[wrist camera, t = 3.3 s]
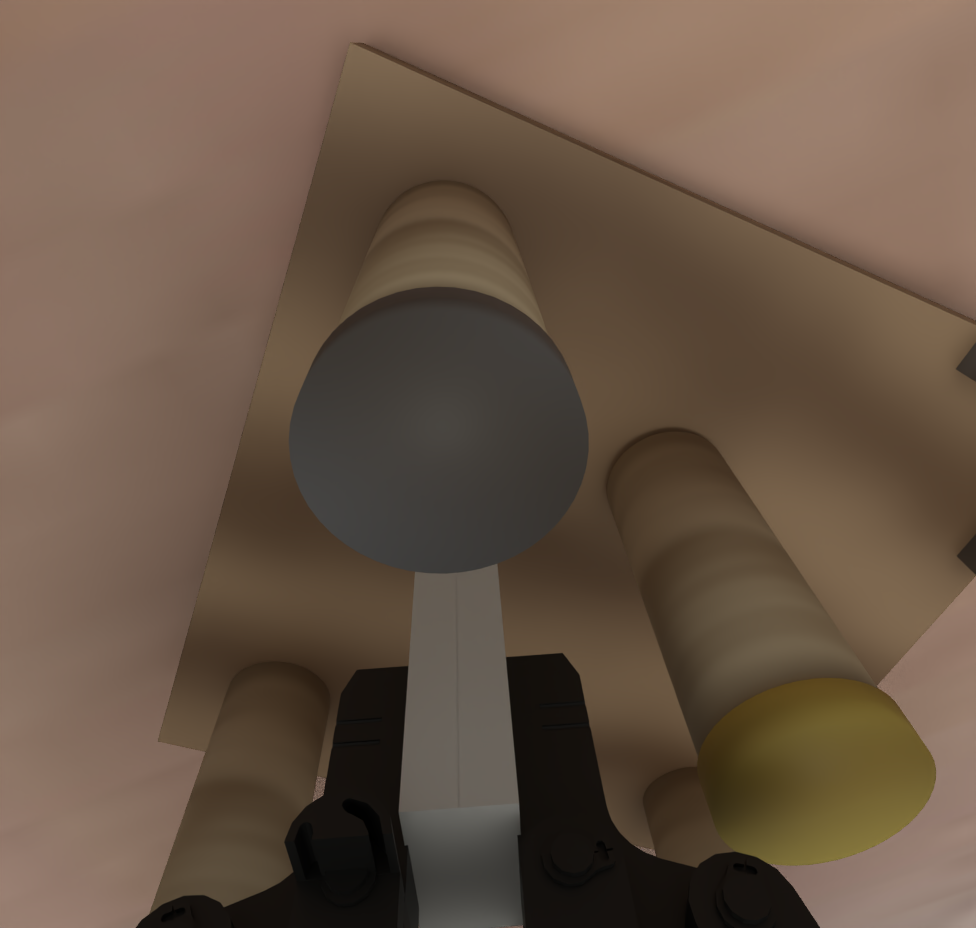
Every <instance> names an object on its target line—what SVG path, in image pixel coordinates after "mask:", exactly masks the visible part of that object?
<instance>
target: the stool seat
mask: <svg viewBox="0 0 976 928" xmlns="http://www.w3.org/2000/svg"><path fill="white" fill-rule="evenodd" d="M676 431H677V432H687V433H692V434H695V435H698V436H700V437H702V438H704V439H706V440H707V441H709V442H710V443H712V444H713V445H714V446H715V447H716V448H717V450H718V451H719V452H720V454H721V455H722V457H723V458H724V460H725V461H726V463H727V464H728V466H729V467H730V469H731V470H732V472H733V473H734V474H735V476H736V477H737V479H738V480H739V482H740V483H741V485H742V486H743V488H744V489H745V491H746V492H747V494H748V495H749V497H750V498H751V500H752V501H753V503H754V504H755V506H756V507H757V509H758V510H759V512H760V513H761V515H762V516H763V518H764V519H765V521H766V522H767V524H768V525H769V527H770V528H771V530H772V531H773V533H774V534H775V536H776V537H777V539H778V540H779V541H780V543H781V544H782V546H783V547H784V549H785V550H786V552H787V553H788V555H789V556H790V558H791V559H792V561H793V562H794V564H795V565H796V567H797V568H798V570H799V571H800V573H801V574H802V576H803V577H804V579H805V580H806V582H807V583H808V585H809V586H810V588H811V589H812V591H813V592H814V594H815V595H816V597H817V598H818V600H819V601H820V603H821V604H822V606H823V607H824V609H825V610H826V611H827V613H828V614H829V616H830V617H831V619H832V620H833V622H834V623H835V625H836V626H837V628H838V629H839V631H840V632H841V634H842V635H843V637H844V638H845V640H846V641H847V643H848V644H849V646H850V647H851V649H852V650H853V652H854V653H855V655H856V656H857V658H858V659H859V661H860V662H861V664H862V665H863V667H864V668H865V670H866V671H867V673H868V674H869V676H870V677H871V679H872V680H873V681H874V683H875V684H876V686H877V685H878V684H879V683H880V681H881V680H882V679H883V678H884V677H885V676H886V675H887V674H888V673H889V672H890V670H891V669H892V668H893V667H894V666H895V665H896V664H897V663H898V662H899V660H900V659H901V658H902V657H903V656H904V655H905V654H906V653H907V652H908V650H909V649H910V648H911V647H912V646H913V645H914V644H915V643H916V642H917V640H918V639H919V638H920V637H921V636H922V635H923V634H924V633H925V632H926V630H927V629H928V628H929V627H930V626H931V625H932V624H933V623H934V622H935V620H936V619H937V618H938V617H939V616H940V615H941V614H942V613H943V612H944V610H945V609H946V608H947V607H948V606H949V605H950V604H951V603H952V602H953V601H954V599H955V598H956V597H957V596H958V595H959V594H960V593H961V592H962V591H963V589H964V588H965V587H966V586H967V585H968V584H969V583H970V582H971V581H972V579H973V578H974V577H975V576H976V321H974V320H972V319H970V318H968V317H966V316H963V315H961V314H959V313H957V312H955V311H952V310H950V309H948V308H946V307H944V306H941V305H939V304H937V303H935V302H933V301H930V300H928V299H926V298H924V297H922V296H919V295H917V294H915V293H913V292H911V291H908V290H906V289H904V288H902V287H900V286H897V285H895V284H893V283H891V282H889V281H886V280H884V279H882V278H880V277H878V276H875V275H873V274H871V273H869V272H866V271H864V270H862V269H860V268H858V267H855V266H853V265H851V264H849V263H847V262H844V261H842V260H840V259H838V258H836V257H833V256H831V255H829V254H827V253H825V252H822V251H820V250H818V249H816V248H814V247H811V246H809V245H807V244H805V243H803V242H800V241H798V240H796V239H794V238H792V237H789V236H787V235H785V234H783V233H781V232H778V231H776V230H774V229H772V228H770V227H767V226H765V225H763V224H761V223H758V222H756V221H754V220H752V219H750V218H747V217H745V216H743V215H741V214H739V213H736V212H734V211H732V210H730V209H728V208H725V207H723V206H721V205H719V204H717V203H714V202H712V201H710V200H708V199H706V198H703V197H701V196H699V195H697V194H695V193H692V192H690V191H688V190H686V189H684V188H681V187H679V186H677V185H675V184H673V183H670V182H668V181H666V180H664V179H662V178H659V177H657V176H655V175H653V174H650V173H648V172H646V171H644V170H642V169H639V168H637V167H635V166H633V165H631V164H628V163H626V162H624V161H622V160H620V159H617V158H615V157H613V156H611V155H609V154H606V153H604V152H602V151H600V150H598V149H595V148H593V147H591V146H589V145H587V144H584V143H582V142H580V141H578V140H576V139H573V138H571V137H569V136H567V135H565V134H562V133H560V132H558V131H556V130H554V129H551V128H549V127H547V126H545V125H543V124H540V123H538V122H536V121H534V120H531V119H529V118H527V117H525V116H523V115H520V114H518V113H516V112H514V111H512V110H509V109H507V108H505V107H503V106H501V105H498V104H496V103H494V102H492V101H490V100H487V99H485V98H483V97H481V96H479V95H476V94H474V93H472V92H470V91H468V90H465V89H463V88H461V87H459V86H457V85H454V84H452V83H450V82H448V81H446V80H443V79H441V78H439V77H437V76H435V75H432V74H430V73H428V72H426V71H423V70H421V69H419V68H417V67H415V66H412V65H410V64H408V63H406V62H404V61H401V60H399V59H397V58H395V57H393V56H390V55H388V54H386V53H384V52H382V51H379V50H377V49H375V48H373V47H371V46H368V45H366V44H364V43H352V42H350V45H349V48H348V52H347V55H346V59H345V63H344V66H343V70H342V74H341V77H340V81H339V85H338V88H337V92H336V95H335V99H334V103H333V106H332V110H331V114H330V117H329V121H328V124H327V128H326V132H325V135H324V139H323V143H322V146H321V150H320V154H319V157H318V161H317V164H316V168H315V172H314V175H313V179H312V183H311V186H310V190H309V193H308V197H307V201H306V204H305V208H304V212H303V215H302V219H301V223H300V226H299V230H298V233H297V237H296V241H295V244H294V248H293V252H292V255H291V259H290V263H289V266H288V270H287V273H286V277H285V281H284V284H283V288H282V292H281V295H280V299H279V302H278V306H277V310H276V313H275V317H274V321H273V324H272V328H271V332H270V335H269V339H268V342H267V346H266V350H265V353H264V357H263V361H262V364H261V368H260V371H259V375H258V379H257V382H256V386H255V390H254V393H253V397H252V401H251V404H250V408H249V411H248V415H247V419H246V422H245V426H244V430H243V433H242V437H241V440H240V444H239V448H238V451H237V455H236V459H235V462H234V466H233V470H232V473H231V477H230V480H229V484H228V488H227V491H226V495H225V499H224V502H223V506H222V510H221V513H220V517H219V520H218V524H217V528H216V531H215V535H214V539H213V542H212V546H211V549H210V553H209V557H208V560H207V564H206V568H205V571H204V575H203V579H202V582H201V586H200V589H199V593H198V597H197V600H196V604H195V608H194V611H193V615H192V618H191V622H190V626H189V629H188V633H187V637H186V640H185V644H184V648H183V651H182V655H181V658H180V662H179V666H178V669H177V673H176V677H175V680H174V684H173V687H172V691H171V695H170V698H169V702H168V706H167V709H166V713H165V717H164V720H163V724H162V727H161V731H160V735H159V738H158V742H163V743H168V744H172V745H177V746H181V747H186V748H191V749H195V750H200V751H204V752H206V753H205V756H204V758H203V761H202V764H201V767H200V770H199V773H198V776H197V779H196V781H195V784H194V787H193V790H192V793H191V796H190V799H189V802H188V804H187V807H186V810H185V813H184V816H183V819H182V822H181V825H180V827H179V830H178V833H177V836H176V839H175V842H174V845H173V847H172V850H171V853H170V856H169V859H168V862H167V865H166V868H165V870H164V873H163V876H162V879H161V882H160V885H159V888H158V891H157V893H156V896H155V899H154V902H153V905H152V908H151V911H150V913H152V912H153V911H154V910H155V909H157V908H158V907H159V906H161V905H162V904H164V903H167V902H169V901H172V900H174V899H177V898H179V897H182V896H187V895H205V896H208V897H210V898H212V899H214V900H217V901H219V902H221V904H222V905H223V907H226V906H228V905H231V904H233V903H235V902H238V901H240V900H243V899H245V898H248V897H250V896H253V895H255V894H258V893H260V892H262V891H265V890H267V889H269V888H271V887H272V886H274V885H276V884H278V883H280V882H281V881H283V880H284V879H285V878H286V877H288V876H289V875H290V874H291V873H293V869H292V866H291V862H290V859H289V856H288V853H287V850H286V847H285V843H284V841H285V838H286V836H287V833H288V831H289V828H290V826H291V824H292V822H293V821H294V820H295V818H296V817H297V816H298V815H299V814H300V813H301V812H302V810H303V809H304V808H305V807H306V806H307V805H309V804H310V803H312V801H313V795H314V790H315V785H316V779H317V776H319V777H324V778H326V777H327V772H328V766H329V760H330V754H331V748H332V747H333V744H332V742H333V736H334V730H335V726H336V719H337V713H338V707H339V701H340V695H341V693H342V691H343V690H344V688H345V687H346V685H347V684H348V682H349V681H350V679H351V678H352V676H353V675H354V673H355V672H356V670H359V669H373V668H386V667H400V666H409V652H410V638H411V623H412V608H413V594H414V579H415V572H422V573H439V574H447V573H459V572H467V571H472V570H477V569H482V568H485V567H488V566H491V565H495V564H497V566H498V577H499V588H500V599H501V610H502V621H503V632H504V643H505V654H506V657H513V656H527V655H541V654H555V653H563V654H564V655H565V656H566V658H567V659H568V660H569V662H570V663H571V664H572V665H573V667H574V668H575V669H576V671H577V672H578V673H579V675H580V679H581V684H582V689H583V694H584V699H585V706H586V708H587V713H588V718H589V725H590V728H591V732H592V737H593V742H594V747H595V752H596V757H597V761H598V766H599V771H600V776H601V781H602V786H603V791H604V795H605V800H606V805H607V808H608V811H609V814H610V817H611V820H612V821H613V823H614V825H615V826H616V828H617V829H618V831H619V832H620V833H621V834H622V835H623V836H624V837H625V838H626V839H627V840H628V841H629V842H630V843H631V844H632V845H636V846H640V847H645V848H649V849H654V850H655V853H656V857H658V858H661V859H665V860H669V861H673V862H677V863H681V864H685V865H689V866H693V867H696V868H697V867H698V865H699V864H700V863H701V862H703V861H705V860H706V859H708V858H710V857H711V856H713V855H714V854H719V853H728V852H736V851H734V850H733V849H731V848H730V847H729V846H728V845H727V844H726V843H725V842H724V841H723V840H722V839H721V837H720V836H719V834H718V832H717V830H716V828H715V825H714V822H713V819H712V816H711V813H710V810H709V807H708V805H707V802H706V799H705V796H704V793H703V790H702V787H701V784H700V781H699V777H698V773H697V761H698V756H697V753H696V750H695V747H694V745H693V742H692V739H691V736H690V733H689V730H688V728H687V725H686V722H685V719H684V716H683V713H682V710H681V708H680V705H679V702H678V699H677V696H676V693H675V690H674V688H673V685H672V682H671V679H670V676H669V673H668V671H667V668H666V665H665V662H664V659H663V656H662V653H661V651H660V648H659V645H658V642H657V639H656V636H655V633H654V631H653V628H652V625H651V622H650V619H649V616H648V614H647V611H646V608H645V605H644V602H643V599H642V596H641V594H640V591H639V588H638V585H637V582H636V579H635V577H634V574H633V571H632V568H631V565H630V562H629V559H628V557H627V554H626V551H625V548H624V545H623V542H622V539H621V537H620V534H619V531H618V528H617V525H616V522H615V520H614V517H613V514H612V511H611V508H610V505H609V502H608V498H607V483H608V479H609V476H610V473H611V470H612V469H613V467H614V465H615V463H616V462H617V460H618V459H619V458H620V457H621V456H622V454H623V453H624V452H625V451H627V450H628V449H629V448H630V447H631V446H633V445H634V444H636V443H637V442H639V441H641V440H643V439H645V438H647V437H650V436H652V435H656V434H659V433H664V432H676Z"/></svg>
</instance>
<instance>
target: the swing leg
mask: <svg viewBox="0 0 976 928" xmlns="http://www.w3.org/2000/svg"><path fill="white" fill-rule="evenodd" d="M607 498H608V502H609V505H610V508H611V511H612V514H613V517H614V520H615V522H616V525H617V528H618V531H619V534H620V537H621V539H622V542H623V545H624V548H625V551H626V554H627V557H628V559H629V562H630V565H631V568H632V571H633V574H634V577H635V579H636V582H637V585H638V588H639V591H640V594H641V596H642V599H643V602H644V605H645V608H646V611H647V614H648V616H649V619H650V622H651V625H652V628H653V631H654V633H655V636H656V639H657V642H658V645H659V648H660V651H661V653H662V656H663V659H664V662H665V665H666V668H667V671H668V673H669V676H670V679H671V682H672V685H673V688H674V690H675V693H676V696H677V699H678V702H679V705H680V708H681V710H682V713H683V716H684V719H685V722H686V725H687V728H688V730H689V733H690V736H691V739H692V742H693V745H694V747H695V750H696V753H697V756H698V761H697V773H698V777H699V781H700V784H701V787H702V790H703V793H704V796H705V799H706V802H707V805H708V807H709V810H710V813H711V816H712V819H713V822H714V825H715V828H716V830H717V832H718V834H719V836H720V837H721V839H722V840H723V841H724V842H725V843H726V844H727V845H728V846H729V847H730V848H731V849H733V850H734V851H736V852H739V853H743V854H747V855H751V856H755V857H758V858H759V859H761V860H763V861H764V862H766V863H769V864H776V865H811V864H818V863H825V862H829V861H834V860H838V859H842V858H845V857H849V856H852V855H854V854H857V853H860V852H863V851H865V850H867V849H869V848H871V847H874V846H876V845H878V844H879V843H881V842H883V841H885V840H887V839H888V838H890V837H891V836H893V835H894V834H896V833H897V832H899V831H900V830H901V829H903V828H904V827H905V826H906V825H908V824H909V823H910V822H911V821H912V820H913V819H914V818H915V817H916V816H917V815H918V814H919V812H920V811H921V810H922V809H923V807H924V806H925V804H926V803H927V801H928V800H929V798H930V796H931V793H932V791H933V789H934V784H935V780H936V768H935V763H934V760H933V757H932V755H931V753H930V752H929V750H928V749H927V747H926V746H925V744H924V743H923V741H922V740H921V738H920V737H919V735H918V734H917V733H916V731H915V730H914V728H913V727H912V725H911V724H910V722H909V721H908V719H907V718H906V716H905V715H904V714H903V712H902V711H901V709H900V708H899V706H898V705H897V704H896V702H895V701H894V700H893V699H892V698H891V697H890V696H888V695H887V694H886V693H884V692H883V691H881V690H880V689H878V687H877V686H876V684H875V683H874V681H873V680H872V679H871V677H870V676H869V674H868V673H867V671H866V670H865V668H864V667H863V665H862V664H861V662H860V661H859V659H858V658H857V656H856V655H855V653H854V652H853V650H852V649H851V647H850V646H849V644H848V643H847V641H846V640H845V638H844V637H843V635H842V634H841V632H840V631H839V629H838V628H837V626H836V625H835V623H834V622H833V620H832V619H831V617H830V616H829V614H828V613H827V611H826V610H825V609H824V607H823V606H822V604H821V603H820V601H819V600H818V598H817V597H816V595H815V594H814V592H813V591H812V589H811V588H810V586H809V585H808V583H807V582H806V580H805V579H804V577H803V576H802V574H801V573H800V571H799V570H798V568H797V567H796V565H795V564H794V562H793V561H792V559H791V558H790V556H789V555H788V553H787V552H786V550H785V549H784V547H783V546H782V544H781V543H780V541H779V540H778V539H777V537H776V536H775V534H774V533H773V531H772V530H771V528H770V527H769V525H768V524H767V522H766V521H765V519H764V518H763V516H762V515H761V513H760V512H759V510H758V509H757V507H756V506H755V504H754V503H753V501H752V500H751V498H750V497H749V495H748V494H747V492H746V491H745V489H744V488H743V486H742V485H741V483H740V482H739V480H738V479H737V477H736V476H735V474H734V473H733V472H732V470H731V469H730V467H729V466H728V464H727V463H726V461H725V460H724V458H723V457H722V455H721V454H720V452H719V451H718V450H717V448H716V447H715V446H714V445H713V444H712V443H710V442H709V441H707V440H706V439H704V438H702V437H700V436H698V435H695V434H692V433H687V432H677V431H676V432H664V433H659V434H656V435H652V436H650V437H647V438H645V439H643V440H641V441H639V442H637V443H636V444H634V445H633V446H631V447H630V448H629V449H628V450H627V451H625V452H624V453H623V454H622V456H621V457H620V458H619V459H618V460H617V462H616V463H615V465H614V467H613V469H612V470H611V473H610V476H609V479H608V483H607Z"/></svg>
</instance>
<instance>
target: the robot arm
mask: <svg viewBox="0 0 976 928" xmlns="http://www.w3.org/2000/svg"><path fill="white" fill-rule="evenodd" d="M332 744H333V747H332V748H331V754H330V760H329V766H328V772H327V777H326V783H325V789H324V795H323V796H322V797H320V798H319V799H317V800H315V801H314V802H312V803H310V804H309V805H307V806H306V807H305V808H304V809H303V810H302V812H301V813H300V814H299V815H298V816H297V817H296V818H295V820H294V821H293V822H292V824H291V826H290V828H289V831H288V833H287V836H286V838H285V841H284V843H285V847H286V850H287V853H288V856H289V859H290V862H291V866H292V869H293V873H291V874H290V875H289V876H288V877H286V878H285V879H284V880H283V881H281V882H280V883H278V884H276V885H274V886H272V887H271V888H269V889H267V890H265V891H262V892H260V893H258V894H255V895H253V896H250V897H248V898H245V899H243V900H240V901H238V902H235V903H233V904H231V905H228V906H226V907H223V905H222V904H221V902H219V901H217V900H214V899H212V898H210V897H208V896H205V895H187V896H182V897H179V898H177V899H174V900H172V901H169V902H167V903H164V904H162V905H161V906H159V907H158V908H157V909H155V910H154V911H153V912H152V913H150V914H149V915H148V916H146V917H145V918H144V919H142V920H141V922H140V923H139V924H138V926H137V927H136V928H418V925H419V927H420V928H493V927H506V926H519V925H523V928H820V927H819V925H818V924H817V922H816V921H815V919H814V918H813V916H812V915H811V913H810V912H809V910H808V909H807V907H806V906H805V904H804V903H803V901H802V900H801V898H800V897H799V895H798V894H797V892H796V891H795V889H794V888H793V886H792V885H791V884H790V883H789V882H788V881H787V880H786V879H785V878H784V876H783V875H782V874H781V873H780V872H779V871H778V870H777V869H776V868H774V867H772V866H771V865H769V864H768V863H766V862H764V861H763V860H761V859H759V858H758V857H755V856H751V855H747V854H743V853H739V852H728V853H719V854H714V855H713V856H711V857H710V858H708V859H706V860H705V861H703V862H701V863H700V864H699V865H698V867H697V868H696V867H693V866H689V865H685V864H681V863H677V862H673V861H669V860H665V859H661V858H658V857H656V856H653V855H650V854H647V853H645V852H643V851H642V850H640V849H639V848H637V847H635V846H634V845H632V844H631V843H630V842H629V841H628V840H627V839H626V838H625V837H624V836H623V835H622V834H621V833H620V832H619V831H618V829H617V828H616V826H615V825H614V823H613V821H612V820H611V817H610V814H609V811H608V808H607V805H606V800H605V795H604V791H603V786H602V781H601V776H600V771H599V766H598V761H597V757H596V752H595V747H594V742H593V737H592V732H591V728H590V725H589V718H588V713H587V708H586V706H585V699H584V694H583V689H582V684H581V679H580V675H579V673H578V672H577V671H576V669H575V668H574V667H573V665H572V664H571V663H570V662H569V660H568V659H567V658H566V656H565V655H564V654H563V653H555V654H541V655H527V656H513V657H506V654H505V643H504V632H503V621H502V610H501V599H500V588H499V577H498V566H497V564H495V565H491V566H488V567H485V568H482V569H477V570H472V571H467V572H459V573H447V574H439V573H422V572H415V579H414V594H413V608H412V623H411V638H410V652H409V666H400V667H386V668H373V669H359V670H356V672H355V673H354V675H353V676H352V678H351V679H350V681H349V682H348V684H347V685H346V687H345V688H344V690H343V691H342V693H341V695H340V701H339V707H338V713H337V719H336V726H335V730H334V736H333V742H332Z"/></svg>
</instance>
